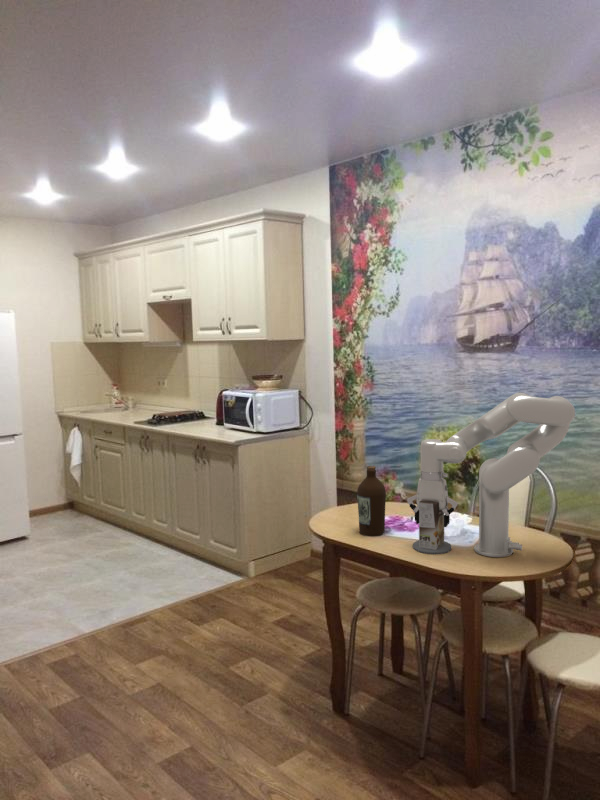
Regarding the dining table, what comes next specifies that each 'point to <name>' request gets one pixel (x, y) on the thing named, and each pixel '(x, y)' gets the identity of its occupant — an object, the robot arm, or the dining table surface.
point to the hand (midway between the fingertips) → (432, 524)
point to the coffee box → (430, 525)
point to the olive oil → (371, 504)
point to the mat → (441, 550)
